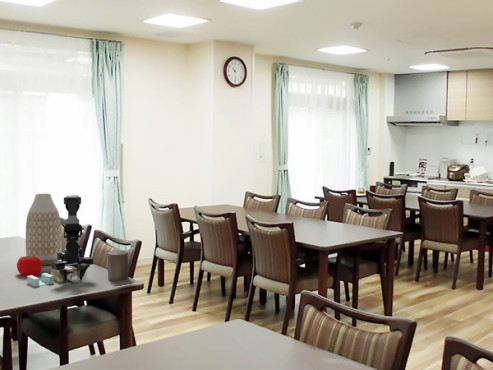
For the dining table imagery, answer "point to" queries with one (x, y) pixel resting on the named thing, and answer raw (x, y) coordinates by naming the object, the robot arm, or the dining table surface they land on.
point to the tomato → (29, 265)
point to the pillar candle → (117, 265)
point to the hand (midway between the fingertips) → (73, 281)
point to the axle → (72, 277)
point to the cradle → (45, 280)
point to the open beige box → (57, 274)
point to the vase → (43, 230)
